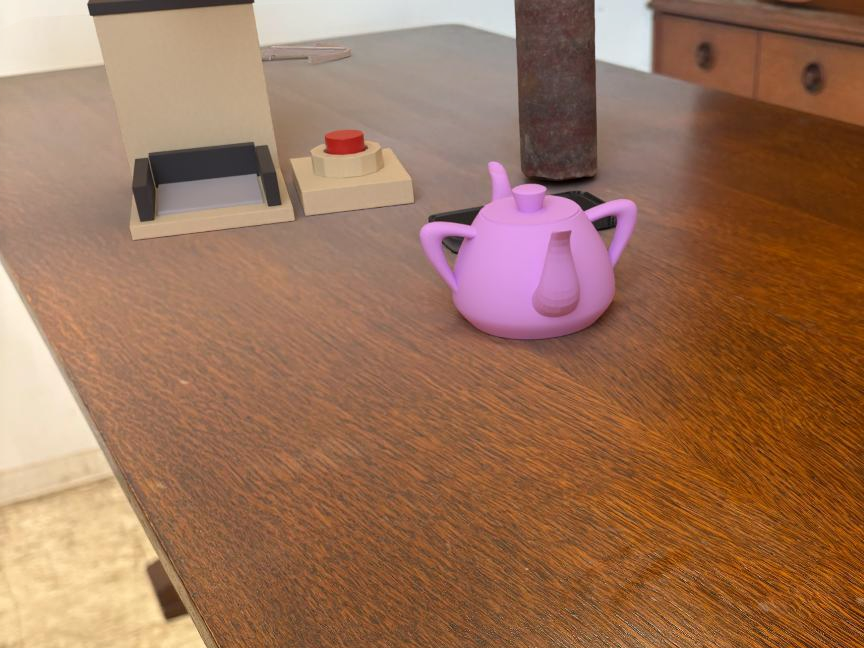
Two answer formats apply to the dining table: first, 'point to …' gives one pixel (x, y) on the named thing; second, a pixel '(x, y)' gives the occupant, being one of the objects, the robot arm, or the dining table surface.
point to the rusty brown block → (556, 88)
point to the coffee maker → (192, 114)
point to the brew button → (344, 142)
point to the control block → (350, 180)
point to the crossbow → (309, 51)
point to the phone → (469, 214)
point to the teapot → (531, 261)
